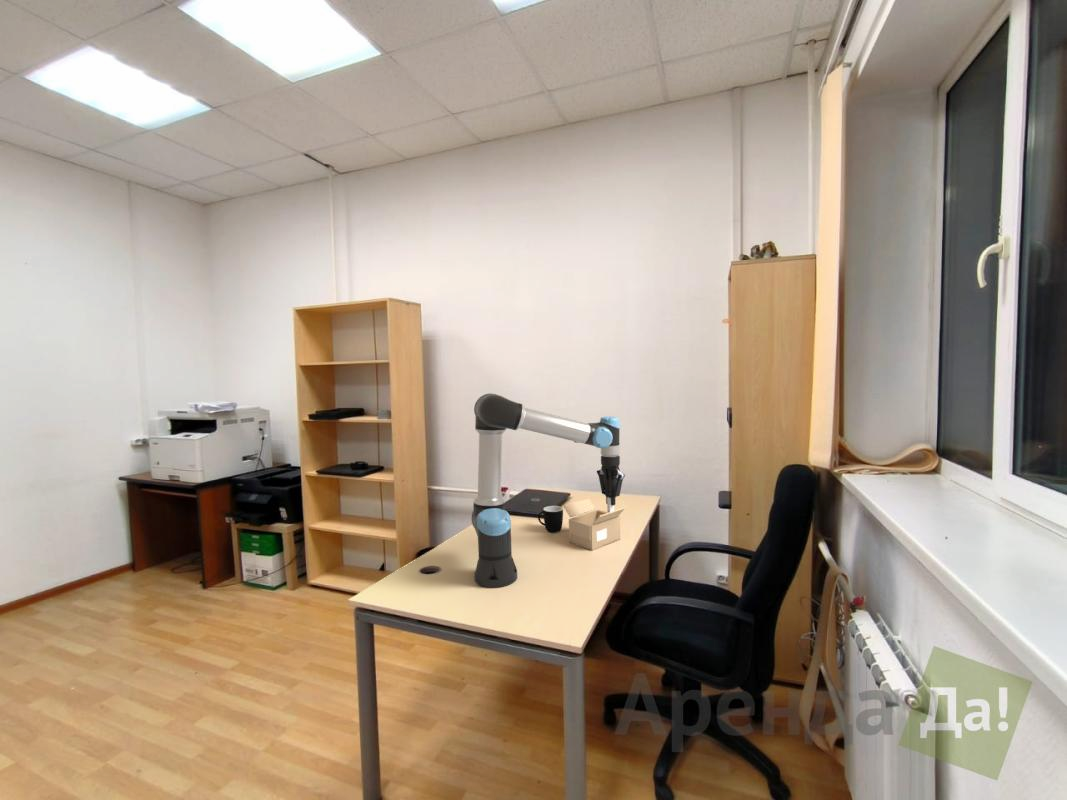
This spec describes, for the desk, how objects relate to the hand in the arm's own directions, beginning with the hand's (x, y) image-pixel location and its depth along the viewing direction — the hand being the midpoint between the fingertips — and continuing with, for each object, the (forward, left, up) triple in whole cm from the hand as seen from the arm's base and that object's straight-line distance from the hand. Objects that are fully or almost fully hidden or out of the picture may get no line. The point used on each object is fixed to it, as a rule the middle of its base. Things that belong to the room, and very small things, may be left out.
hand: (610, 512), depth 189 cm
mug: (-4, +33, -15) cm, 36 cm away
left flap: (0, +17, -1) cm, 17 cm away
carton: (0, +9, -14) cm, 17 cm away
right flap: (0, +1, -1) cm, 2 cm away
